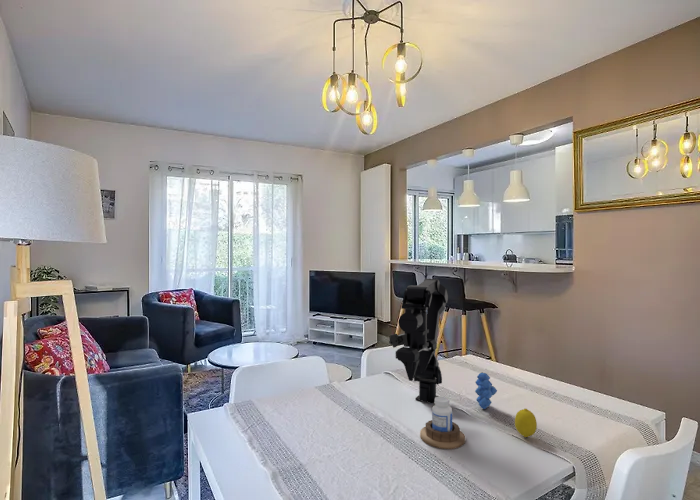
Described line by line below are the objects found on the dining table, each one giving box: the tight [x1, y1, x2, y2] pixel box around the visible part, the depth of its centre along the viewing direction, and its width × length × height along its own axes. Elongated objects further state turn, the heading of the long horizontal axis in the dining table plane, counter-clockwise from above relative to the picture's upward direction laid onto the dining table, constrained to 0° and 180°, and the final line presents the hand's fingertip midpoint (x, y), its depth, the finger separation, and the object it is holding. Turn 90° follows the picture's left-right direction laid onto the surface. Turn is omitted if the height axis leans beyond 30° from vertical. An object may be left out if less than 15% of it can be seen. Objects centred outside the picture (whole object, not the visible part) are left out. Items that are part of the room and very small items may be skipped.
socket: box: [419, 419, 466, 450], centre depth 110 cm, size 12×12×3 cm
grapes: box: [474, 372, 498, 410], centre depth 130 cm, size 12×7×12 cm, turn 177°
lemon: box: [514, 408, 538, 438], centre depth 110 cm, size 6×6×8 cm
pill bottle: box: [431, 395, 453, 432], centre depth 110 cm, size 6×5×10 cm
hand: (416, 376), depth 124 cm, fingers open, 9 cm apart
